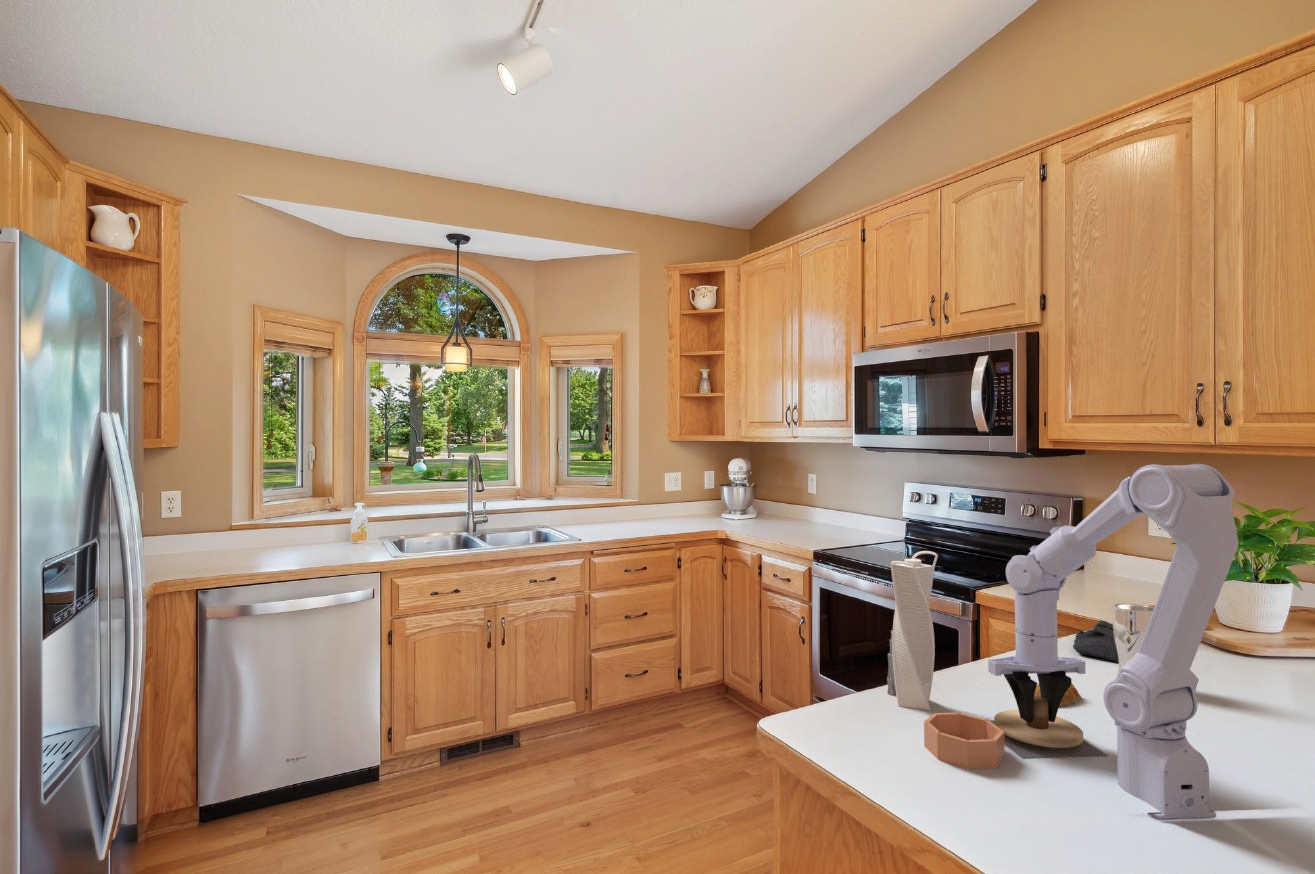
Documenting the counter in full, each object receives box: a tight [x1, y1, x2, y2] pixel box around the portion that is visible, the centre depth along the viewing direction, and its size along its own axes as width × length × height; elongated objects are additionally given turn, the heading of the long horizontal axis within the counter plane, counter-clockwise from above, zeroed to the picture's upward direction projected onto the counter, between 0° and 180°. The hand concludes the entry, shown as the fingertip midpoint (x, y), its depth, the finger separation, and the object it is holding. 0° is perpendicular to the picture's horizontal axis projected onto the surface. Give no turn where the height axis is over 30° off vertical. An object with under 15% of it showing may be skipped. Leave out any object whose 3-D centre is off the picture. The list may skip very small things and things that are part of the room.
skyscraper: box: [886, 550, 939, 711], centre depth 116 cm, size 8×8×28 cm
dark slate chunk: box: [1072, 620, 1119, 664], centre depth 149 cm, size 15×22×5 cm
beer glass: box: [1112, 602, 1155, 677], centre depth 126 cm, size 7×7×15 cm
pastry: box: [1034, 683, 1082, 708], centre depth 117 cm, size 9×7×4 cm
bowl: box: [923, 712, 1005, 770], centre depth 97 cm, size 10×10×4 cm
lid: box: [993, 696, 1084, 748], centre depth 101 cm, size 12×12×5 cm
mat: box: [988, 719, 1109, 760], centre depth 101 cm, size 13×13×1 cm
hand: (1037, 719), depth 101 cm, fingers closed on lid, 3 cm apart
